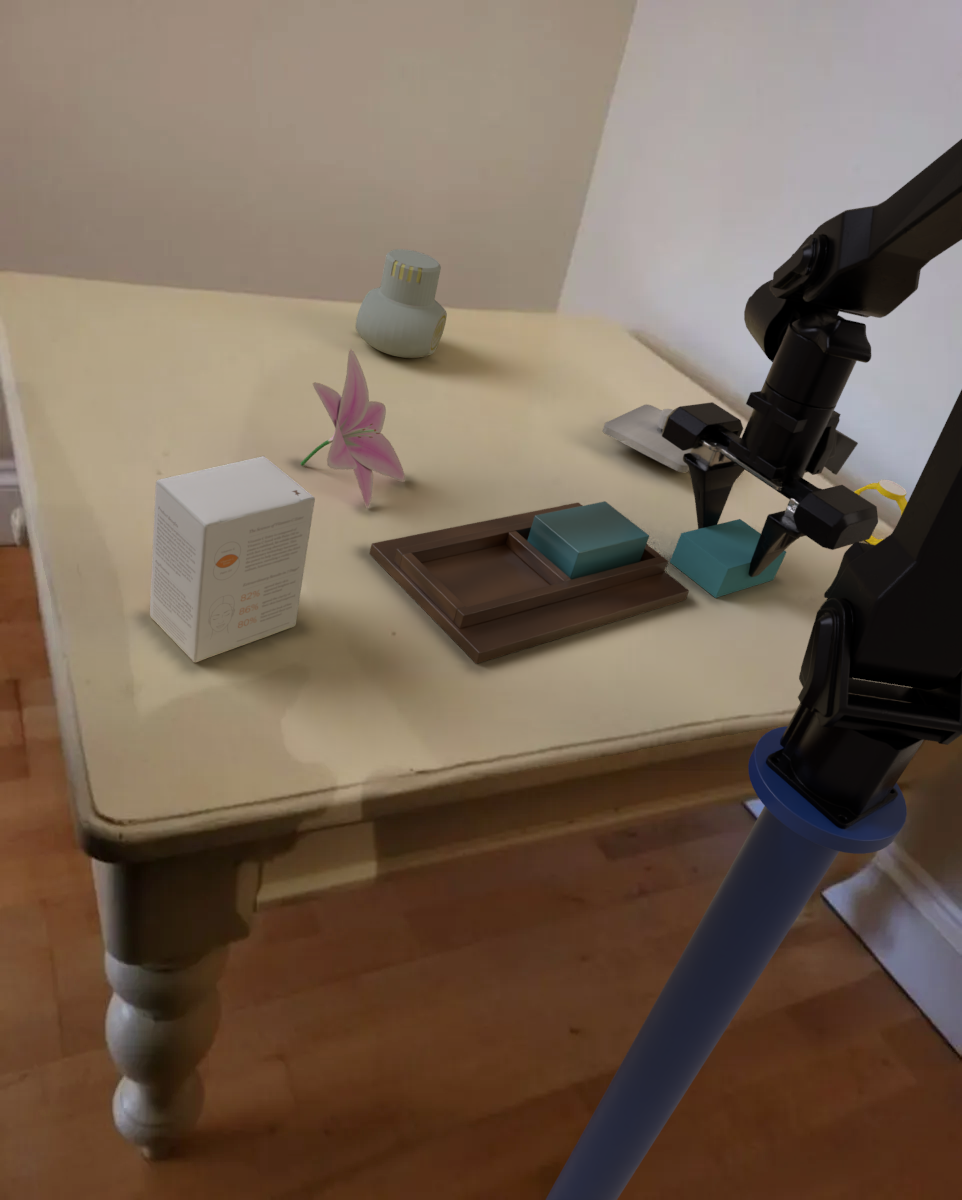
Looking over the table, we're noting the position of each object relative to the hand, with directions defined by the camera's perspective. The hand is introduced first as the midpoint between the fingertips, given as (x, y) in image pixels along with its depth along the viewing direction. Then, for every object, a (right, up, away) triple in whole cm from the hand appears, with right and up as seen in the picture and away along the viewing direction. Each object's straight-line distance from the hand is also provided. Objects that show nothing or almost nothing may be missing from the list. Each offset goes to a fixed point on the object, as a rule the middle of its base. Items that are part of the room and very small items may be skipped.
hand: (728, 556), depth 88 cm
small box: (-38, -5, -20) cm, 44 cm away
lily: (-33, +6, -1) cm, 33 cm away
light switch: (-3, +11, +17) cm, 21 cm away
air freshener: (-31, +24, +25) cm, 46 cm away
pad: (0, -1, +1) cm, 2 cm away
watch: (+16, +2, +13) cm, 21 cm away
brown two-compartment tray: (-17, -2, -7) cm, 19 cm away
